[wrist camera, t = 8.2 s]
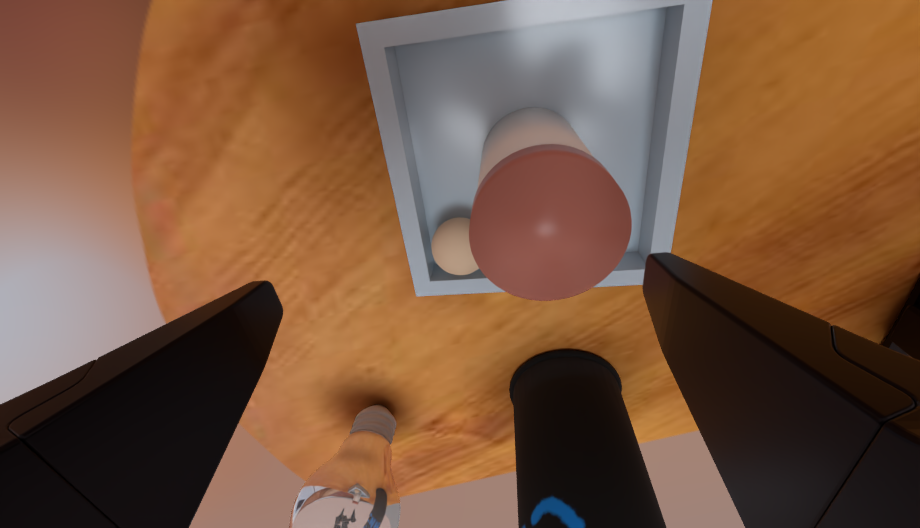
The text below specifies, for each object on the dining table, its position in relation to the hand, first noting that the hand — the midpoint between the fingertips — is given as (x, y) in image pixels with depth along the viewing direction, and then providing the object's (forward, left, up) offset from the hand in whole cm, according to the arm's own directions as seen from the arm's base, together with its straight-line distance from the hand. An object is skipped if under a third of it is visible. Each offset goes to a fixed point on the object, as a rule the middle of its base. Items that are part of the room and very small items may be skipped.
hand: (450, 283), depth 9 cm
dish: (-3, +1, -14) cm, 14 cm away
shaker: (-3, +1, -13) cm, 13 cm away
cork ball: (+1, +5, -13) cm, 14 cm away
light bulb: (+10, +21, -14) cm, 27 cm away
